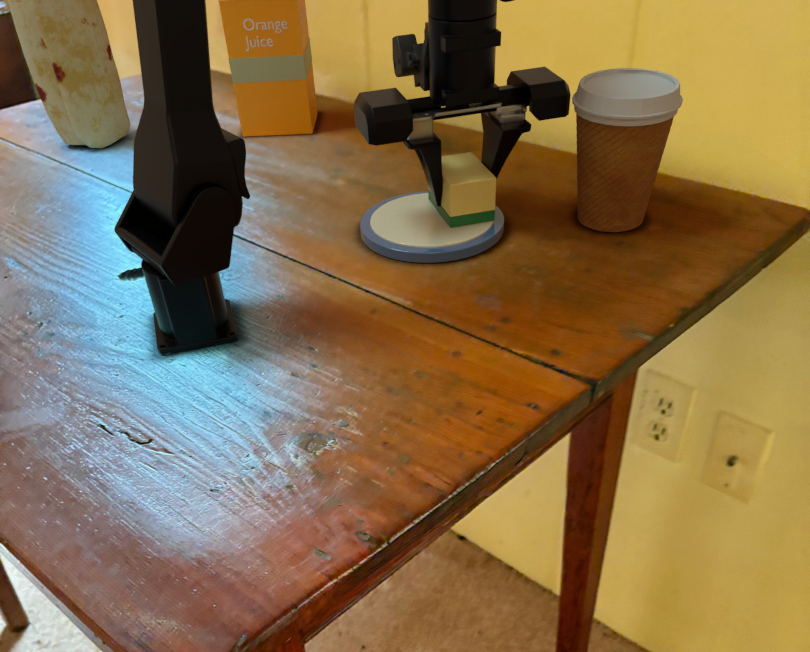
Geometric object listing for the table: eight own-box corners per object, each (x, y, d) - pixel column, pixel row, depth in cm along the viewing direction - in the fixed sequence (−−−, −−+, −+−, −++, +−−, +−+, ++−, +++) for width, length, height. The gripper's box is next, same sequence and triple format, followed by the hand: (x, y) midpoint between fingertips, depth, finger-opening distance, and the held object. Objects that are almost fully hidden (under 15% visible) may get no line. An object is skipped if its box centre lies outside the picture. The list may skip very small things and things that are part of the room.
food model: (133, 128, 103) (81, -64, 89) (137, 145, 99) (83, -54, 85) (55, 139, 102) (-11, -55, 87) (55, 158, 97) (-14, -44, 83)
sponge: (494, 220, 76) (496, 177, 74) (450, 228, 76) (450, 184, 73) (470, 192, 81) (471, 151, 78) (428, 199, 81) (427, 157, 78)
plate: (525, 248, 75) (526, 235, 74) (380, 273, 73) (379, 261, 72) (476, 191, 84) (476, 180, 84) (346, 212, 82) (345, 200, 81)
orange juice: (312, 133, 99) (288, -68, 85) (241, 137, 99) (206, -63, 85) (318, 112, 104) (296, -80, 90) (251, 115, 105) (219, -76, 90)
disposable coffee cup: (678, 214, 78) (706, 77, 70) (625, 249, 74) (648, 108, 65) (596, 190, 83) (612, 60, 75) (541, 222, 78) (551, 87, 70)
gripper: (530, -20, 74) (520, 157, 85) (332, 4, 71) (348, 184, 82) (581, 8, 66) (563, 198, 77) (362, 36, 63) (376, 229, 74)
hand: (461, 200), depth 78 cm, fingers closed on sponge, 4 cm apart
